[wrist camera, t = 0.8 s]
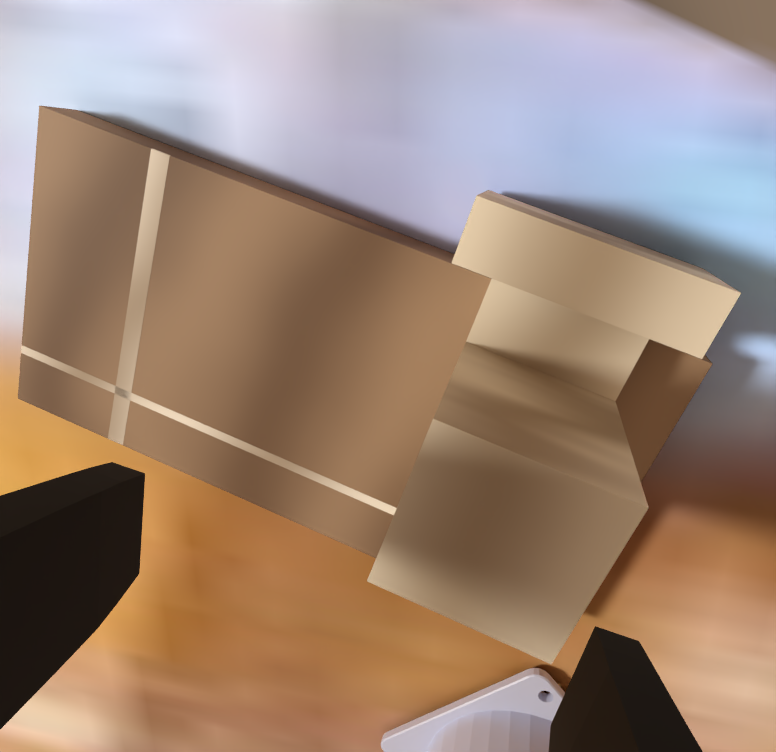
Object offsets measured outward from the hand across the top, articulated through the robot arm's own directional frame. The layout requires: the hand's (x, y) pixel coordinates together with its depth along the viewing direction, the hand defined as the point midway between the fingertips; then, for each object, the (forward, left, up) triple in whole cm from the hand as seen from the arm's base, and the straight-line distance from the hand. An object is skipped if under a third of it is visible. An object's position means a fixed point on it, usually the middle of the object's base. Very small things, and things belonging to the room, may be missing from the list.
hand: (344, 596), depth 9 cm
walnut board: (+3, +3, -10) cm, 11 cm away
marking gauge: (-2, -1, -10) cm, 10 cm away
